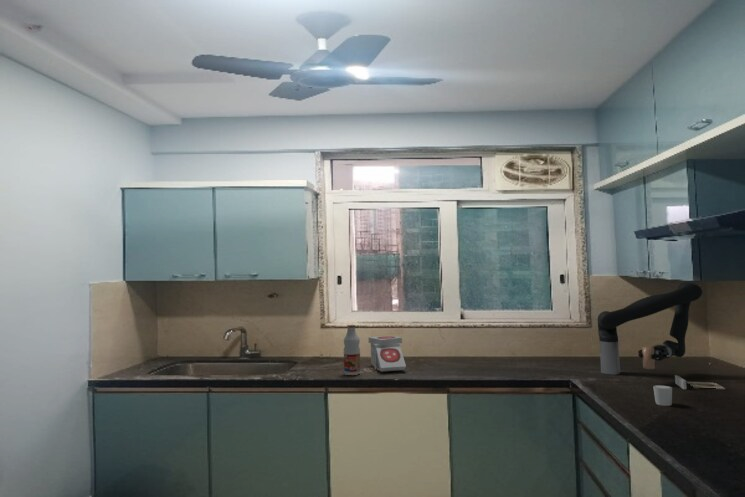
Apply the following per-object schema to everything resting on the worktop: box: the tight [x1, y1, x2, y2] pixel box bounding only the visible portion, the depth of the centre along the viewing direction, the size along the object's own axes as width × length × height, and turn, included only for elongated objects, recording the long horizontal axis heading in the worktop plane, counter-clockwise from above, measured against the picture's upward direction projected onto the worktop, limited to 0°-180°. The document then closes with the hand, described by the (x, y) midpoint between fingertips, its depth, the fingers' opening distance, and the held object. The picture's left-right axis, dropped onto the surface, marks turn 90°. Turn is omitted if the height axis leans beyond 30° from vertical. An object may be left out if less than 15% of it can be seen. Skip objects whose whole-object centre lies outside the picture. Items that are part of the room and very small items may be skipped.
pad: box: [686, 381, 726, 390], centre depth 226 cm, size 12×12×1 cm
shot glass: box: [652, 384, 673, 407], centre depth 199 cm, size 7×7×7 cm
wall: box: [674, 374, 688, 390], centre depth 227 cm, size 12×1×4 cm, turn 163°
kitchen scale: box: [368, 334, 407, 372], centre depth 287 cm, size 19×30×18 cm, turn 12°
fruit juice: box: [343, 324, 361, 373], centre depth 274 cm, size 9×9×28 cm
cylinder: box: [641, 346, 656, 370], centre depth 234 cm, size 5×5×10 cm
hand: (646, 356), depth 232 cm, fingers closed on cylinder, 5 cm apart
